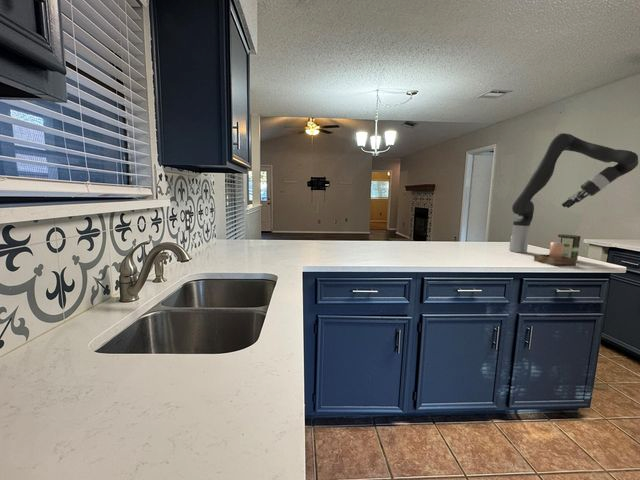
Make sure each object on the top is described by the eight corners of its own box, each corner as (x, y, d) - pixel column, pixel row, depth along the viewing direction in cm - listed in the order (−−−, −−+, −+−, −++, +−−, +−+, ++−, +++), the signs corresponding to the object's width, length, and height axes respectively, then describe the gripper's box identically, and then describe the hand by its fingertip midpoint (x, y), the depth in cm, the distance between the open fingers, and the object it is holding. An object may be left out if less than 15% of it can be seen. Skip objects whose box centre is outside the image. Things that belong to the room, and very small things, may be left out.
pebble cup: (545, 260, 175) (548, 241, 173) (554, 260, 175) (557, 241, 174) (554, 262, 169) (557, 243, 168) (563, 262, 170) (566, 243, 169)
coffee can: (572, 258, 185) (576, 234, 183) (580, 262, 176) (584, 237, 174) (552, 257, 189) (555, 233, 187) (558, 260, 179) (561, 236, 177)
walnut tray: (533, 260, 178) (534, 254, 177) (553, 260, 180) (554, 254, 179) (554, 266, 165) (555, 259, 164) (575, 265, 167) (576, 259, 167)
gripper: (585, 180, 171) (556, 201, 178) (593, 179, 159) (562, 201, 165) (596, 190, 170) (566, 210, 176) (605, 189, 157) (573, 212, 164)
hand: (564, 206), depth 171 cm, fingers open, 8 cm apart
